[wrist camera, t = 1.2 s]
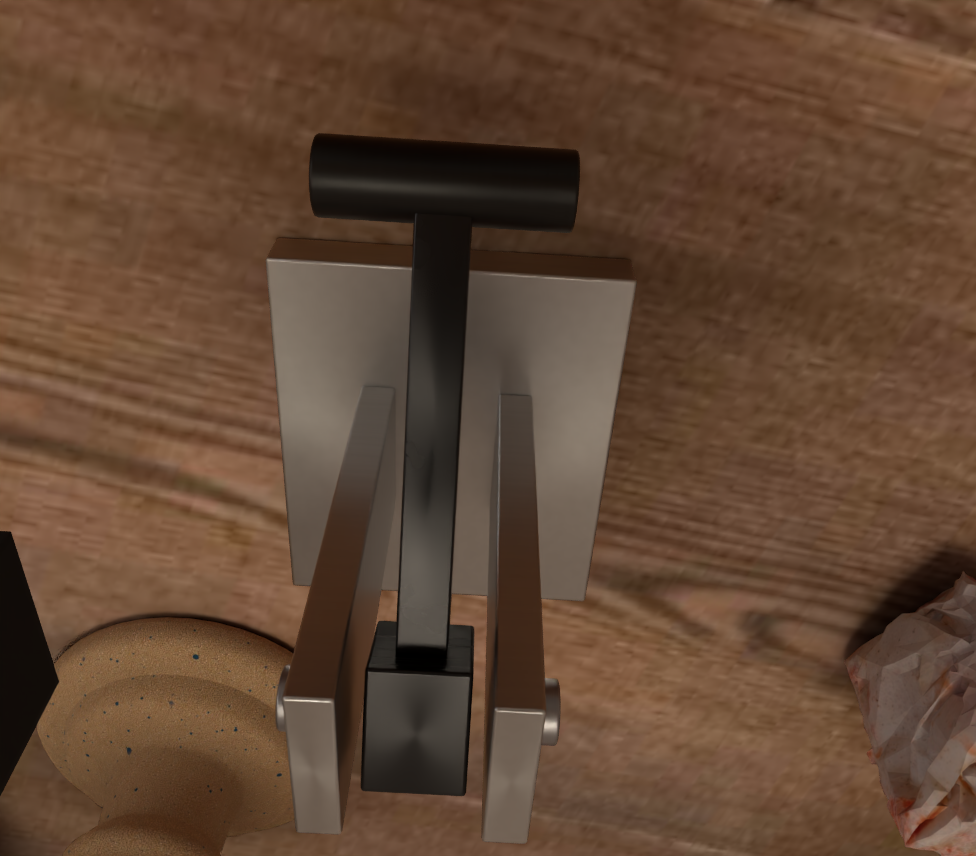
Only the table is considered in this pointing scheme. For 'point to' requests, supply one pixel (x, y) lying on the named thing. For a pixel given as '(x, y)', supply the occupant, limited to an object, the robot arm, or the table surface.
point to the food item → (925, 719)
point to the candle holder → (170, 736)
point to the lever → (432, 418)
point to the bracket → (480, 496)
